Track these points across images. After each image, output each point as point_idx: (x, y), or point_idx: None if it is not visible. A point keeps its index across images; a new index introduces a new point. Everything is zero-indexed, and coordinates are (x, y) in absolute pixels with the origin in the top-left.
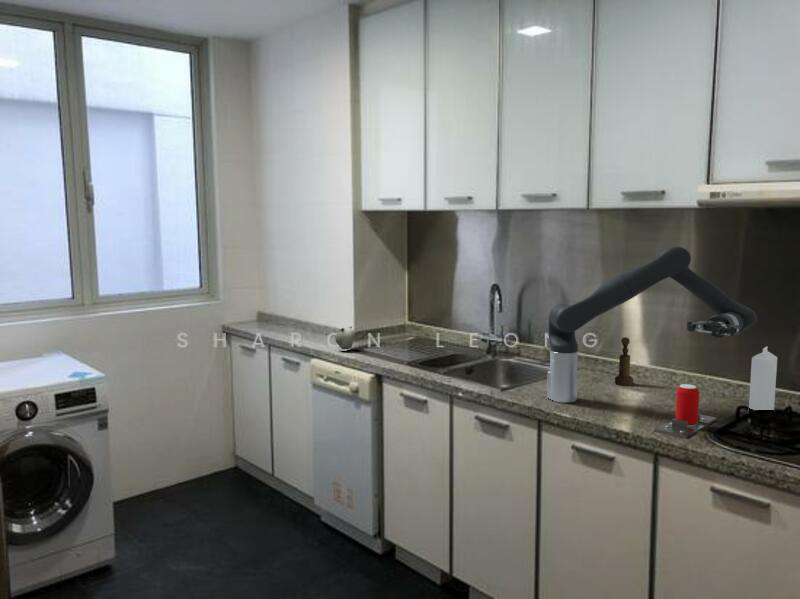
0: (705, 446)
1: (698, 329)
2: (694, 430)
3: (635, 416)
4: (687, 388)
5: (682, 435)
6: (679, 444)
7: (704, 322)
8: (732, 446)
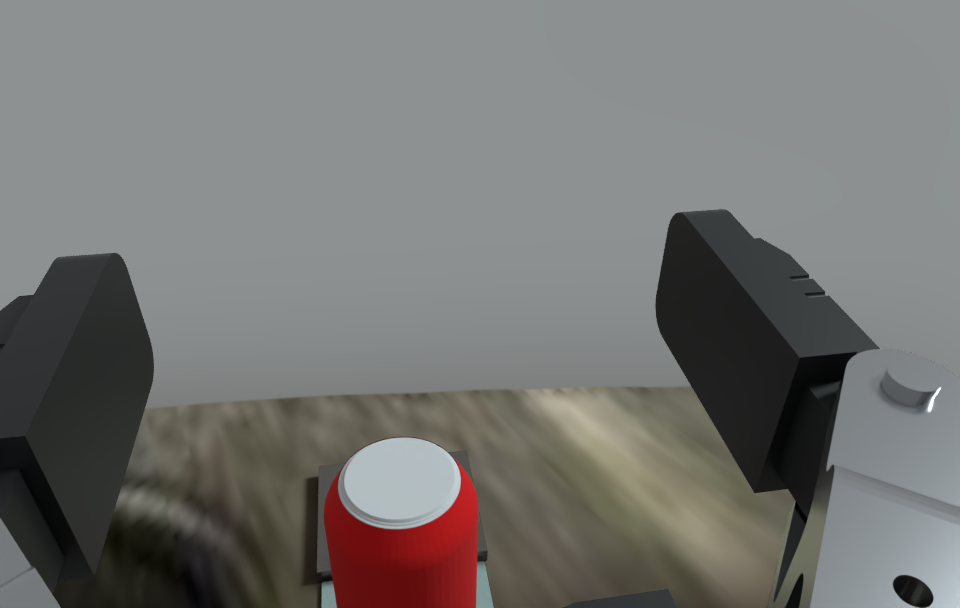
0: (216, 452)
1: (779, 572)
2: (317, 556)
3: (692, 582)
4: (380, 441)
5: (334, 466)
6: (310, 407)
7: (809, 585)
8: None
